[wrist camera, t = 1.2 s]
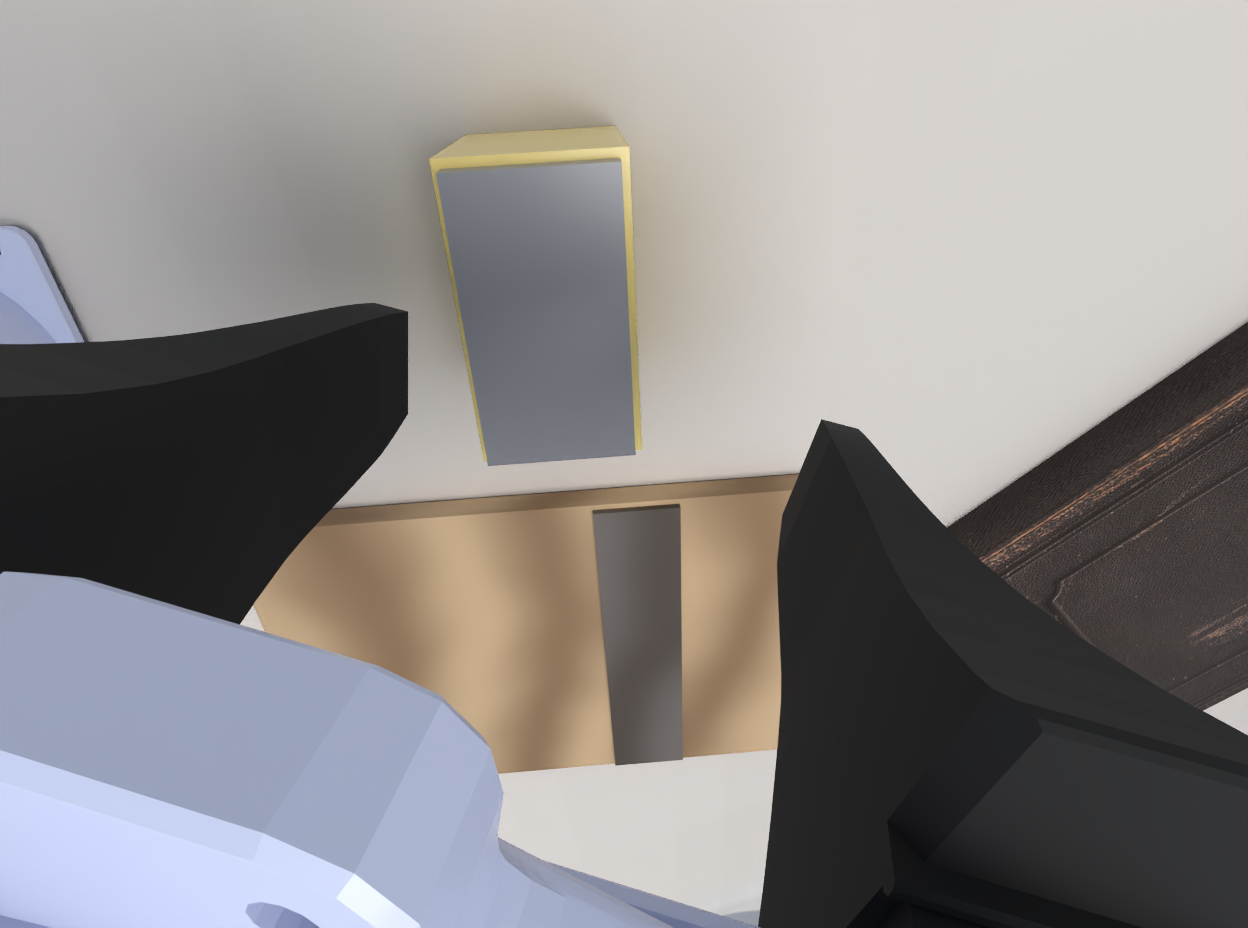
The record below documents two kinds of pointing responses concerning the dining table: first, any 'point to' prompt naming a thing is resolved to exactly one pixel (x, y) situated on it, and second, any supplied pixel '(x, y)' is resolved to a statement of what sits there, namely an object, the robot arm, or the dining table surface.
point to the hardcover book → (1142, 531)
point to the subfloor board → (561, 614)
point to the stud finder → (544, 290)
